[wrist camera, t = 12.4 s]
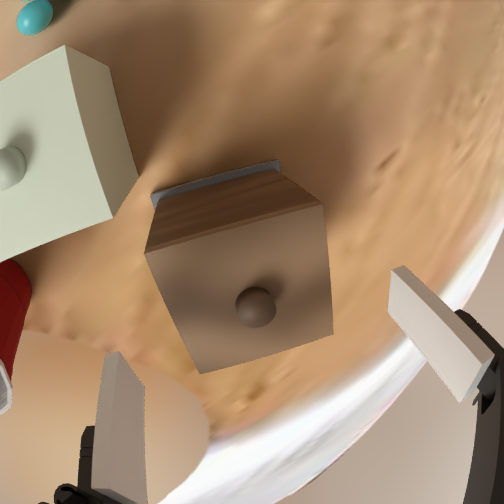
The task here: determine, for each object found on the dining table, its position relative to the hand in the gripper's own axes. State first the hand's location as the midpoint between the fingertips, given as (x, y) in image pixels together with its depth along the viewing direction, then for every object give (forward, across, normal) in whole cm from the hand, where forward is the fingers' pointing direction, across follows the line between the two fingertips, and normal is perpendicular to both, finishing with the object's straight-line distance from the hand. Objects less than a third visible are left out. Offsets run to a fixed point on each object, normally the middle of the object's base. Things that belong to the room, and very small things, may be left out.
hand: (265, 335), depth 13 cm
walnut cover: (+12, 0, -1) cm, 12 cm away
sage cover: (+13, -10, +10) cm, 19 cm away
